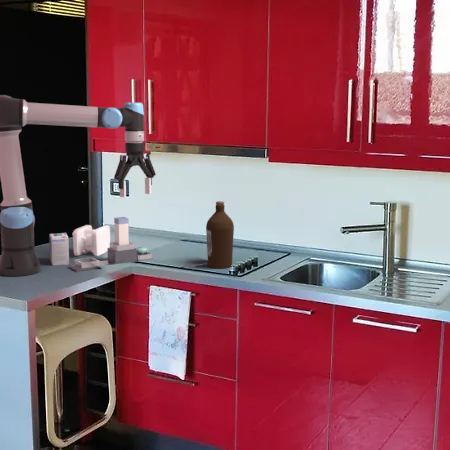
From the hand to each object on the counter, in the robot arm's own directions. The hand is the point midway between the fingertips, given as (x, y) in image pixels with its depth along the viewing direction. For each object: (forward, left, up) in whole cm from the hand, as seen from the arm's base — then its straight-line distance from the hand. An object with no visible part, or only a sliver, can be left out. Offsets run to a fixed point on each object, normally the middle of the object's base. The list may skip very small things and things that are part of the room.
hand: (135, 195), depth 278 cm
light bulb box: (-29, +9, -26) cm, 40 cm away
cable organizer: (-13, +15, -26) cm, 32 cm away
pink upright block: (-9, -6, -19) cm, 22 cm away
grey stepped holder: (-13, -6, -25) cm, 29 cm away
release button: (-1, -6, -22) cm, 23 cm away
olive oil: (+21, -30, -26) cm, 45 cm away
